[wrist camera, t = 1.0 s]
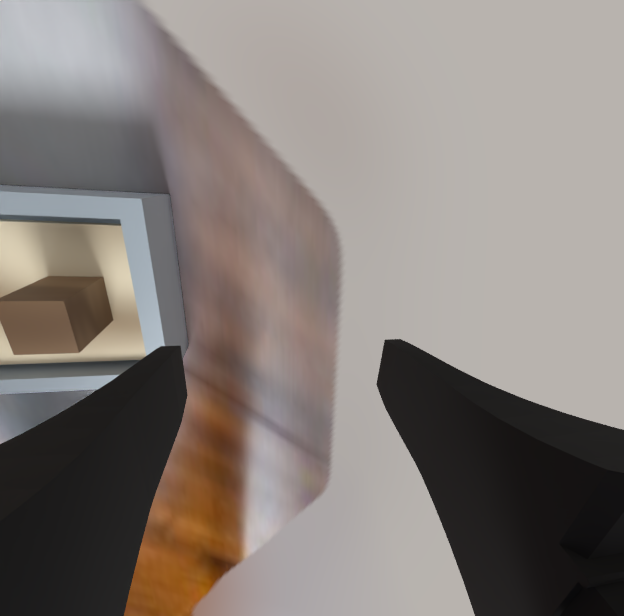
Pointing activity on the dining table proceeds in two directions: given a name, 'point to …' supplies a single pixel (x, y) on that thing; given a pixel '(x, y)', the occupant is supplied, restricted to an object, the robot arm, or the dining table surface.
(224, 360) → the dining table surface
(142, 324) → the box
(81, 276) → the cover plate
